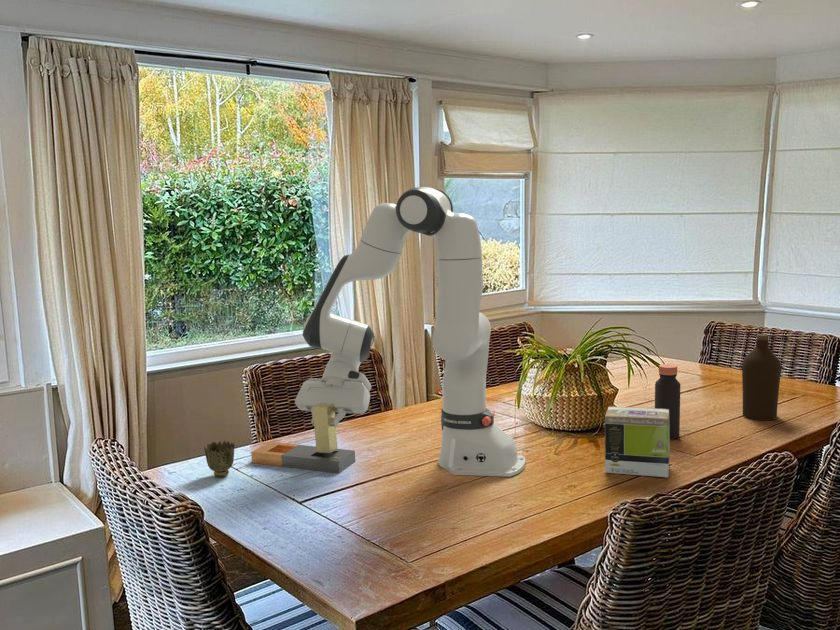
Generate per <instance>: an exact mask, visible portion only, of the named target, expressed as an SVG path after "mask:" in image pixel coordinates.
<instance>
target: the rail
mask: <svg viewBox="0 0 840 630" xmlns="http://www.w3.org/2000/svg"><path fill="white" fill-rule="evenodd" d="M250 453H251V454H250V455H251V463H252V464H256V465H257V464H259V465H267V466H268V465H269V466H274V467H285V468H291V469H301V470H307V471H308V470H309V471H319V472H324V473H325V472H327V473H335V474H341V473H342V472H343V471H344V470H346V469H347V468H349V467H350V466H352V465H353V464H354V463H355V462H356V451H355V450H352V449H342V448H337V449H336V450H334V451H333V452H331V453H321V452H316V445H304V444H295V443H286V442H276V441H269V442H267V443H265V444H263V445H262V446H259V447H258V448H256V449H254V450H252V451H251V452H250Z"/></svg>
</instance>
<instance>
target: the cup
mask: <svg viewBox="0 0 840 630" xmlns="http://www.w3.org/2000/svg"><path fill="white" fill-rule="evenodd" d="M206 446H207V447H206ZM206 446H203V449H204V454H205V460H206V464H207V467H208V468H209V469H210V470H211V471H212V472H213V475H214V476H215V478H224V477H227V476H228V474H229V473H230V472H229V469H231V468H232V466H233V465H234V458H235V446H236V445H235V442H234V443H233V442H232V441H231V442H229V441H226V440H224V441H223V442H221V441H218V442H215V441H212V442H211V443H207V444H206Z"/></svg>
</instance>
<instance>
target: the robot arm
mask: <svg viewBox="0 0 840 630" xmlns="http://www.w3.org/2000/svg"><path fill="white" fill-rule="evenodd" d="M479 230H480V229H479V226H478V223H477V221H476V218H474V217H473V216H471V215H470V214H467V213H464V212H454V206H453V202H452V200H451V197H449V195H447V193H445V192H444V191H442V190H441V189H438V188H433V187H430V186H420V187H419V186H418V187H412V188H410V189H408V190H406V191H404V192H403V193H402V194H401V195H400V197H399V198H398V200H397V201H396V203H392V202H381V203H378V204H377V205H376V206H375V207H373V209H372V212H371V213H370V215H369V216H368V219H367V221H366V223H365V226H364V228H363V230H362V234H361V237H360V240H359V243H358V245H357V246H356V248H355V249H354V250H353V251H352V252H351V253H350V254H346V255H345V254H344V255H343V256H342V257H341V258H340V260H339V261H338V262H337V264H336V266H335V268H334V270H333V272H332V273H331V276H330V277H329V279H328V282H327V283H326V285H325V287H324V289H323V291H322V293H321V295H320V297H319V299H318V301H317V303H316V305H315V306H314V309H313V310H312V311H311V313H310V314H309V315H308V317H306V320H305V322H304V324H303V328H302V337H303V339H304V341H305V342H306V344H307V345H308V347H311V348H314V349H319V350H325V351H328V352H330V358H329V361H328V362H326V365H325V369H324V371H323V374H322V377H320V378H319V377H318V378H314V377H310V378H309V379H306V380H305V381H303V383H302V385H301V387H300V389H299V391H298V393H297V395H296V397H295V400H294V404H295V406H296V407H297V408H298V409H299V410H300V411H304V412H305V411H307V412H311V416H312V418H311V421H310V423H311V425H312V426H314V415H313V407H314V406H316V405H318V404H320V403H328V404H334V408H335V413H337V414H335V417H334V418H331V421H330V425H331V426H332V427H336V428H337V427H338V425H339V423H340V421H342V420H343V418H344V417H346V414H357V415H358V414H362V415H363V414H365V413H366V412H367V411H368V409H369V405H370V400H371V393H370V391H371V390H372V384H371V383H370V381H369V380H368V378H367V376H366V375H365V374H364V373H363V372H360V371H359V367H360V365H361V364H362V363H363V362H365V361H366V360H368V358H369V357H370V352H371V349H372V346H373V344H374V341H375V334H374V331H373V330H372V328H371V326H370V325H368V324H366V323H364V322H361V321H358V320H355V319H351V318H348V317H345V316H340V315H338V314H334V313H333V312H332V311H331V310H332V308H333V306H334V304H335V303H336V300H337V298H338V296H339V295H340V292H341V291H342V289H343V287H344V286H345V285H346V284H349V283H352V282H357V281H374V280H380V279H383V278H385V277H388V276H389V275H391V274H392V273H393V272H394V271H395V270H396V267H397V266H398V263H399V262H400V258H401V255H402V252H403V248H404V247H405V243H406V240H407V238H408V236H409V235H410V234H411V233H412V232H413V233H417V234H421V235H426V236H428V237H433V238H434V239H435V244H436V250H437V251H436V252H437V254H436V255H437V274H438V275H437V279H438V297H437V305H436V311H435V312H436V314H435V325H434V331H433V335H432V339H431V343H432V345H431V346H432V347H433V351H434V353H436V355H437V356H438V357H439V358H440V359H441V360H444V361H445V367H444V371H443V376H442V379H441V380H442V381H441V382H442V383H441V385H442V390H441V391H442V409H441V410H440V411H441V415H440V426H441V430H442V436H441V446H440V452H439V456H438V460H437V464H438V465H439V467H441V468H443V469H444V470H446V471H447V472H448V473H449V474H451V475H456V476H457V475H458V476H459V475H460V476H479V477H480V476H483V477H504V478H505V477H506V478H507V477H513V476H515V475H517V474H519V473H521V472H522V471H523V470H524V469H525V467H526V466H527V460H526V457H525V456H524V455H522V454H518V450H517V445H516V442H515V439H514V438H513V437H512V436H510V435H509V434H508V433H506V432H505V431H503V429H501V428H500V427H498V425H496V424H495V421H494V420H495V418H494V417H495V416H496V414H495V413H496V411H494V410H493V411H492V412H491V411H490V410H489V409H488V408H487V389H486V387H487V386H486V385H487V382H486V381H487V372H488V371H487V369H488V362H489V353H490V352H489V350H490V340H491V339H490V338H491V333H492V332H491V331H492V327H491V325H492V324H491V322H490V320H489V318H488V316H486V315H485V314H484V313H482V312H481V311H480V309H481V300H482V295H483V291H484V283H483V282H484V280H483V279H484V278H483V277H484V275H483V255H482V254H483V253H482V252H483V251H482V242H481V237H480V231H479Z"/></svg>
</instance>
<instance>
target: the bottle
mask: <svg viewBox="0 0 840 630" xmlns="http://www.w3.org/2000/svg"><path fill="white" fill-rule="evenodd" d="M658 376H659V378H658V379H657V380H656V381H655V383H654V408H657V409H669V440H671V439H677V438H678V437H680V430H681V429H680V425H681V421H680V420H681V416H680V415H681V382H679V380H678V379H677V377H678V365H677V364H671V363H663V364H659V365H658Z"/></svg>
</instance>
